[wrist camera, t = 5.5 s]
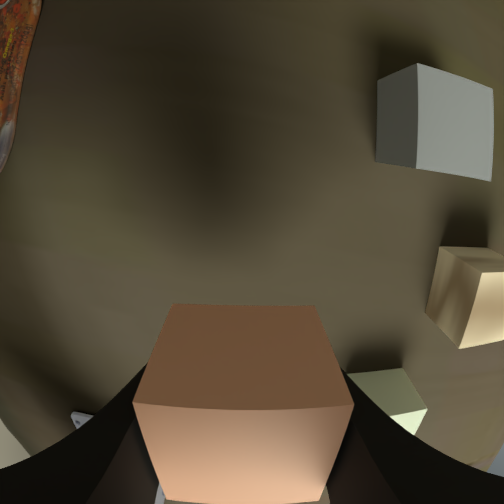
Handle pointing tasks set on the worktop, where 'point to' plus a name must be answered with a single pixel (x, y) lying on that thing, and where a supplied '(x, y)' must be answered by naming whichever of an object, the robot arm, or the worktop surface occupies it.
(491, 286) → the maple block
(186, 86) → the worktop surface
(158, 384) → the terracotta block
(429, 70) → the slate block
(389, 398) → the sage block
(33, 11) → the tin
